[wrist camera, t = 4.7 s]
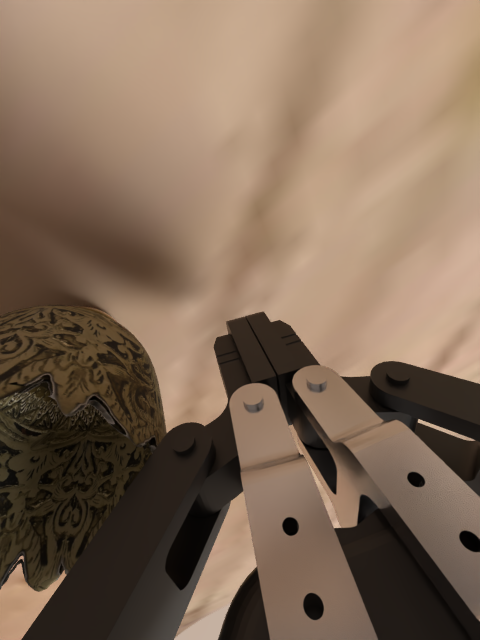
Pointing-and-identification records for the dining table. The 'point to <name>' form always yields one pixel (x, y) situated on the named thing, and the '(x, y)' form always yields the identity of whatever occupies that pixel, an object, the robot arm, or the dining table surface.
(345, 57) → the dining table surface
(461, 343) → the dining table surface
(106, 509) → the cup
